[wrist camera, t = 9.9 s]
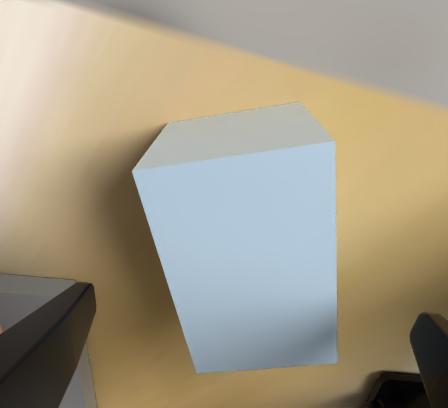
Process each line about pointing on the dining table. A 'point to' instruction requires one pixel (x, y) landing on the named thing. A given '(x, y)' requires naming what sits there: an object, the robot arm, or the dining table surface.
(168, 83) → the dining table surface
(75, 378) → the baseplate
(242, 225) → the brick top
